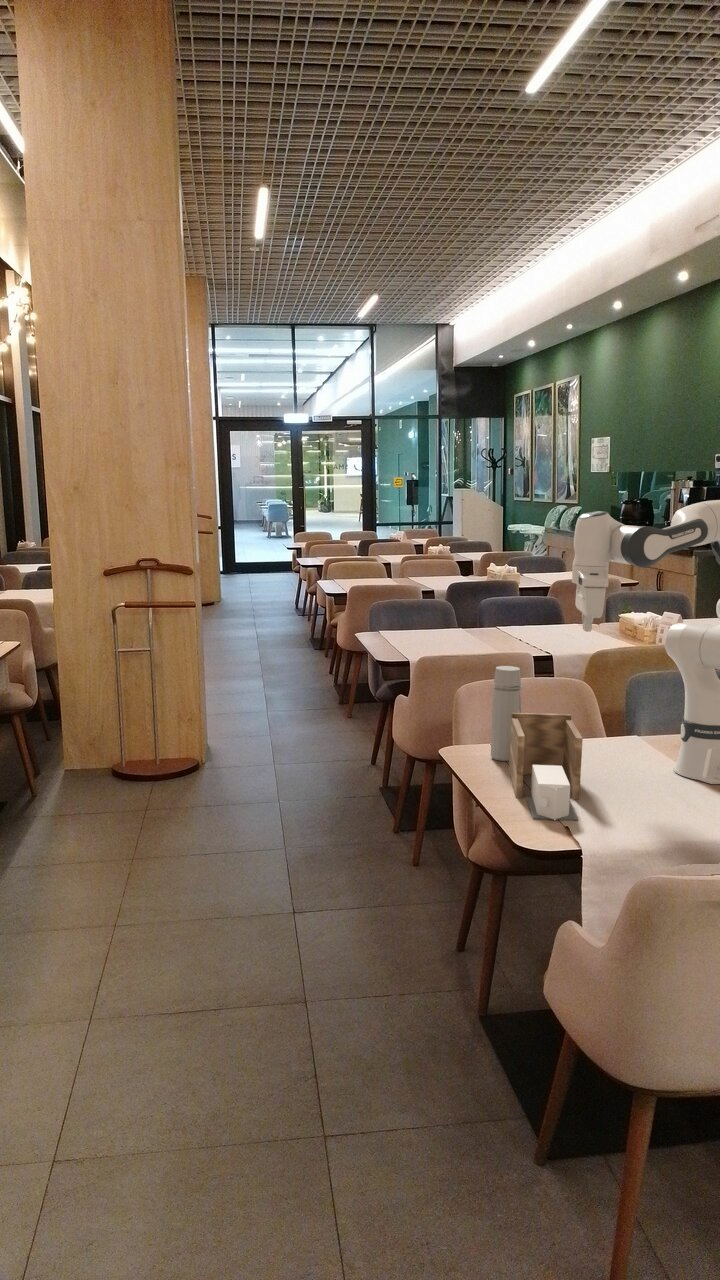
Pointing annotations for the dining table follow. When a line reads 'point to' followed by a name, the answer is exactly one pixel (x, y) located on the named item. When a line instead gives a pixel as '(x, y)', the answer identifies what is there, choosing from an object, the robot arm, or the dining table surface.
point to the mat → (534, 814)
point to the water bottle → (504, 709)
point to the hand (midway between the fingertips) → (586, 630)
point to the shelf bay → (544, 747)
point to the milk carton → (550, 791)
